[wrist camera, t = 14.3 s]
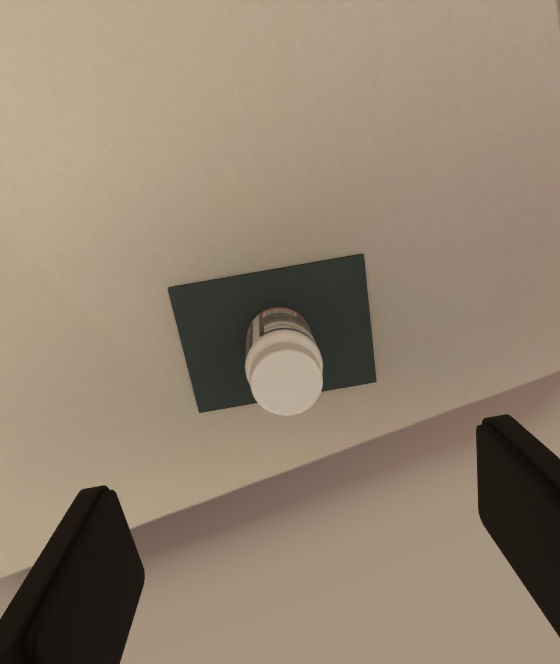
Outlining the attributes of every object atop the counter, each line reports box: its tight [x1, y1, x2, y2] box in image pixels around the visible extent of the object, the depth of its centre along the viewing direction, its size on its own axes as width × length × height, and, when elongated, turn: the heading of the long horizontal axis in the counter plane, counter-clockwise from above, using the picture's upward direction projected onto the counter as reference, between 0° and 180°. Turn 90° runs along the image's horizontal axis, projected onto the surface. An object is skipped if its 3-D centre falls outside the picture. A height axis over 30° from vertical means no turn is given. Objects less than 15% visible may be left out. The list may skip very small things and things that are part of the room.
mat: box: [168, 254, 376, 413], centre depth 31 cm, size 14×10×1 cm
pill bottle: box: [245, 307, 323, 416], centre depth 26 cm, size 5×5×8 cm
